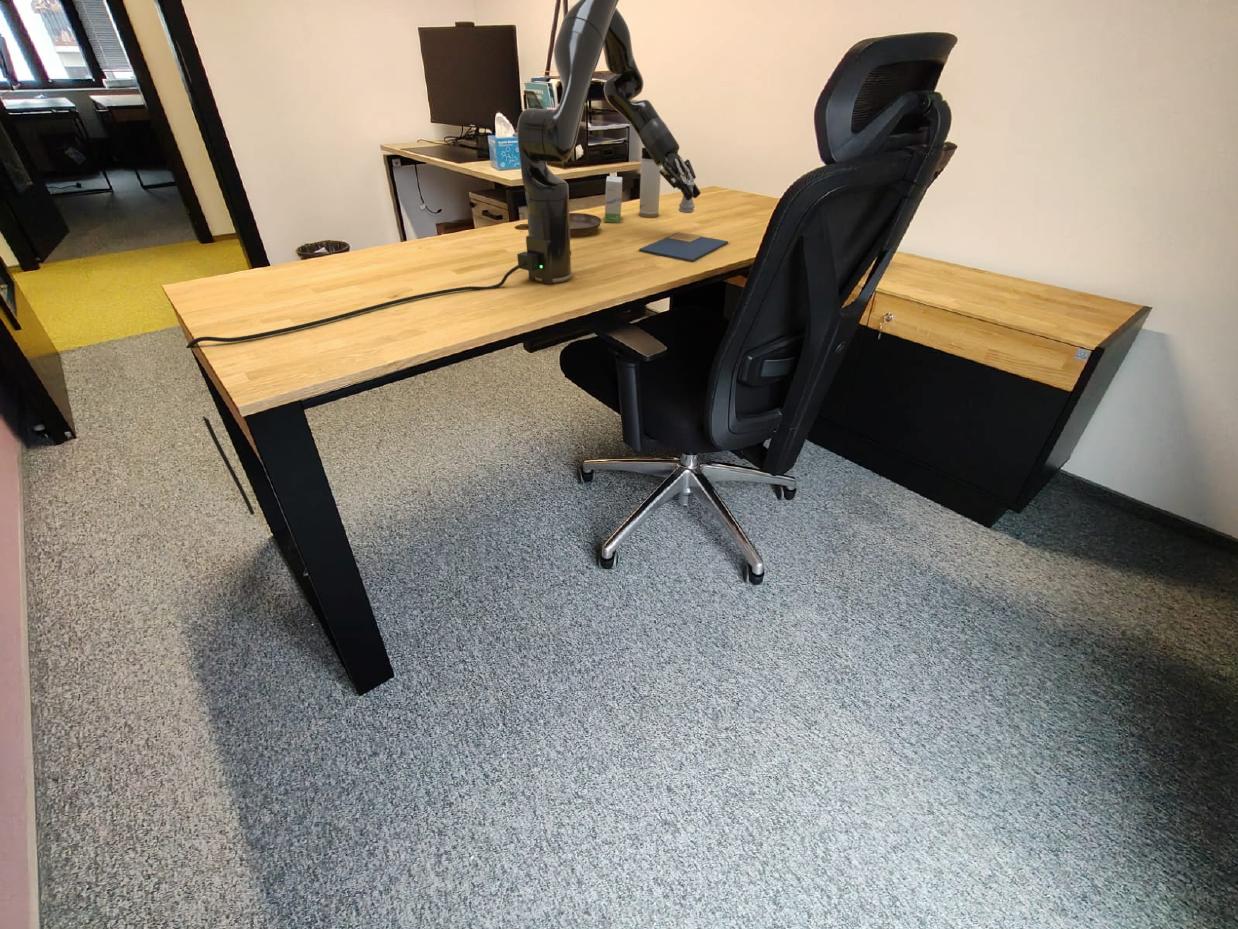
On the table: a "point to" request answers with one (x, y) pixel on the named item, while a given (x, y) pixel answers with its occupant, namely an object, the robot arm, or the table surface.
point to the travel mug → (649, 186)
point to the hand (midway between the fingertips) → (694, 196)
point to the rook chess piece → (685, 204)
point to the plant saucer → (583, 224)
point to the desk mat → (684, 246)
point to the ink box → (613, 199)
